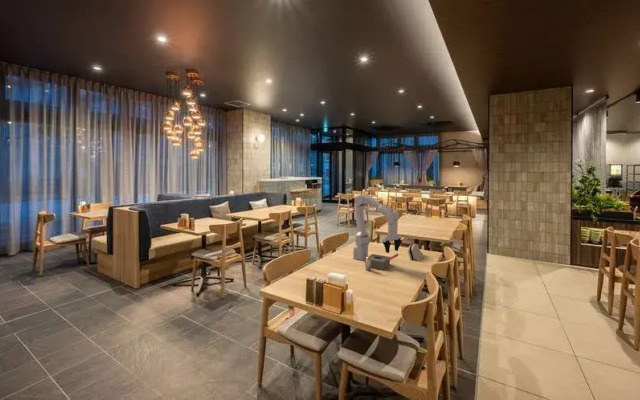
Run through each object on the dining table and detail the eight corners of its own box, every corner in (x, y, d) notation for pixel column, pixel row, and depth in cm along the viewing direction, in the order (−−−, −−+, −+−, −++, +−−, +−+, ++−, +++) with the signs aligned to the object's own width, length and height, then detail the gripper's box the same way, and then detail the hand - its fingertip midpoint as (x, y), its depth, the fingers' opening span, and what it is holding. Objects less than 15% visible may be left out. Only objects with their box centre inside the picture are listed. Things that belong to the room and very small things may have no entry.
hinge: (417, 261, 205) (413, 246, 206) (411, 262, 208) (406, 248, 208) (423, 254, 219) (418, 241, 220) (416, 255, 222) (412, 242, 222)
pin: (365, 270, 188) (365, 257, 187) (366, 268, 191) (367, 256, 190) (369, 271, 187) (369, 258, 186) (371, 269, 189) (371, 257, 188)
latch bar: (387, 261, 191) (386, 259, 191) (389, 259, 194) (388, 258, 195) (396, 256, 188) (395, 255, 188) (398, 255, 191) (397, 253, 191)
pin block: (365, 266, 195) (365, 258, 194) (372, 261, 205) (372, 254, 204) (383, 269, 189) (383, 262, 188) (389, 264, 199) (390, 256, 198)
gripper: (388, 233, 184) (388, 255, 186) (405, 230, 191) (405, 251, 193) (380, 230, 190) (379, 252, 192) (397, 228, 197) (396, 248, 199)
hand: (392, 251), depth 193 cm, fingers open, 7 cm apart
